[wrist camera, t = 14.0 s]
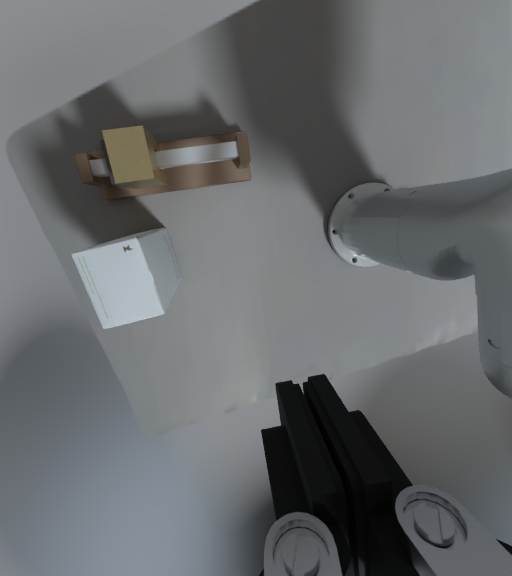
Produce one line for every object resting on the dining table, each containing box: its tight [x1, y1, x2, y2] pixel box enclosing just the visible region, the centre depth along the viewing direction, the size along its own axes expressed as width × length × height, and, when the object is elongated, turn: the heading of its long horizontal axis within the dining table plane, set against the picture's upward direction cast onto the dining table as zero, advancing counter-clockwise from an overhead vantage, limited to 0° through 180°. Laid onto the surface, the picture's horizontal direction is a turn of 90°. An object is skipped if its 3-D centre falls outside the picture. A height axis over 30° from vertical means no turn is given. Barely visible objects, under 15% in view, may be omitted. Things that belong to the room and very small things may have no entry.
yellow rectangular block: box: [102, 125, 167, 189], centre depth 32 cm, size 4×5×7 cm
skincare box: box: [71, 227, 182, 329], centre depth 34 cm, size 8×7×16 cm
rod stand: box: [74, 131, 251, 200], centre depth 35 cm, size 20×6×8 cm, turn 98°
